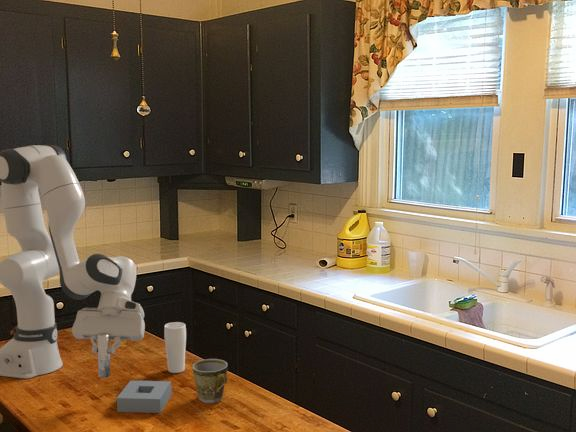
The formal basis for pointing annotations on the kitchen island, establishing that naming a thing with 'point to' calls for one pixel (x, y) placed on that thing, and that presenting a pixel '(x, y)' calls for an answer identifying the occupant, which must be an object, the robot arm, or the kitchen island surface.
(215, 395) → the ceramic cup
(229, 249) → the kitchen island surface
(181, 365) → the white tapered cylinder
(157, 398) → the socket block
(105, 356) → the steel pin
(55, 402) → the kitchen island surface
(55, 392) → the kitchen island surface
